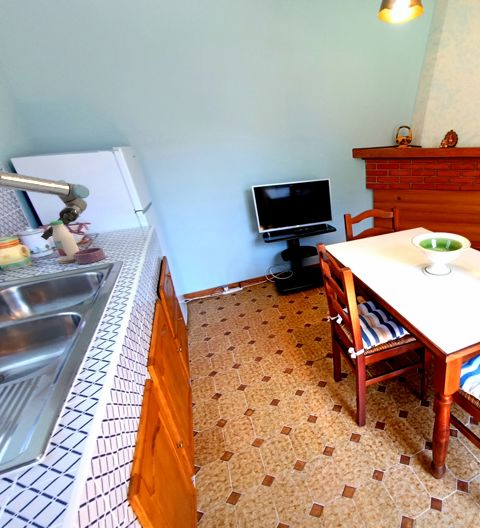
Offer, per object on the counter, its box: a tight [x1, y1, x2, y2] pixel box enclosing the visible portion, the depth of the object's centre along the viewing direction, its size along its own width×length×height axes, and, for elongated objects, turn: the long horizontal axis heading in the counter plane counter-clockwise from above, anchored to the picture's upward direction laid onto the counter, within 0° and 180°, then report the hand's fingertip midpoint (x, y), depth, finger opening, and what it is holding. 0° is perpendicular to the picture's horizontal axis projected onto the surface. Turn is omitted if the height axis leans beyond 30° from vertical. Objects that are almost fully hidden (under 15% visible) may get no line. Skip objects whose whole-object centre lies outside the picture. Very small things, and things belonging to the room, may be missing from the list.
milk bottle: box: [49, 220, 80, 261], centre depth 151 cm, size 8×8×20 cm
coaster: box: [57, 259, 76, 265], centre depth 155 cm, size 11×11×1 cm
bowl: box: [73, 246, 106, 265], centre depth 152 cm, size 12×12×5 cm
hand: (54, 230), depth 154 cm, fingers open, 13 cm apart
